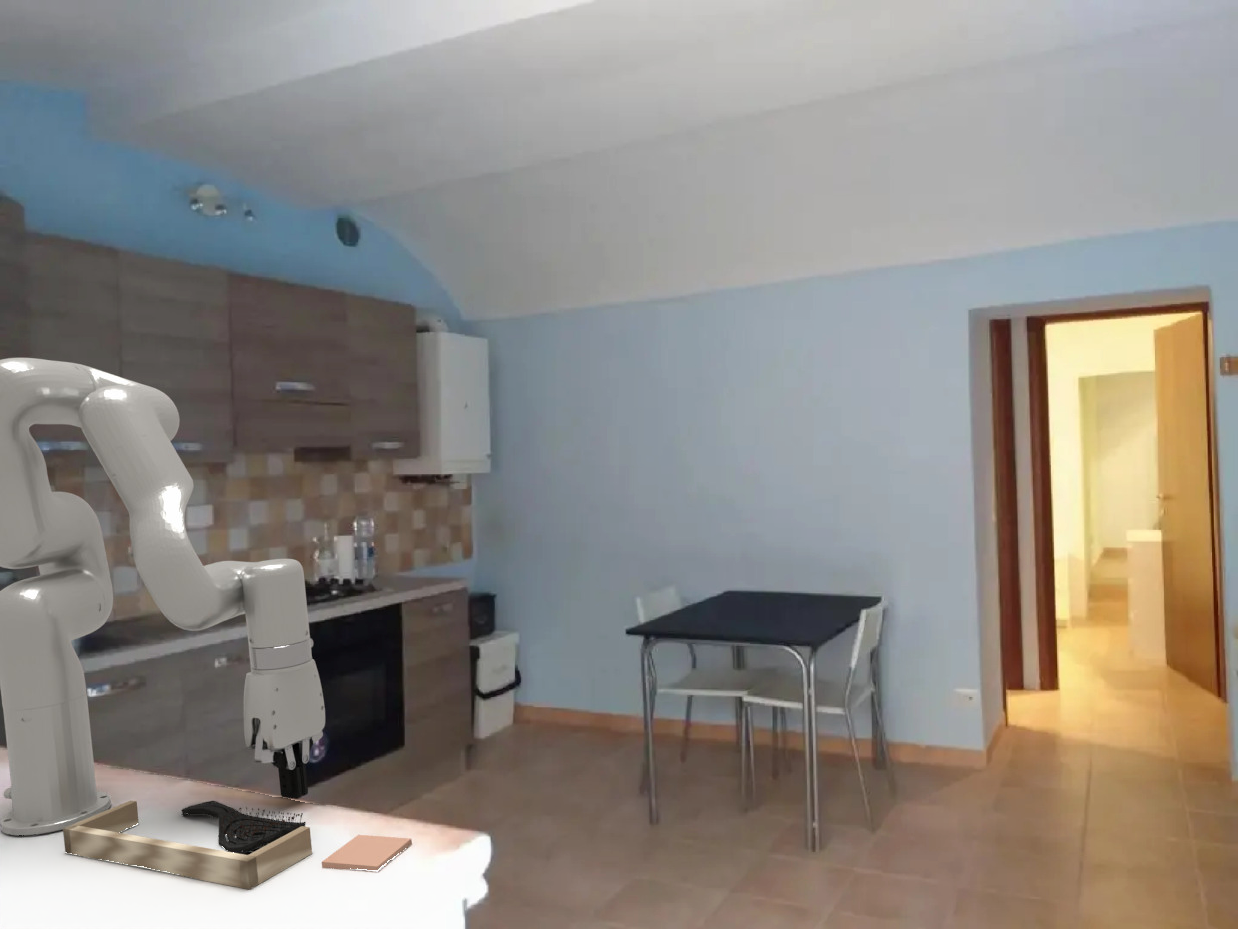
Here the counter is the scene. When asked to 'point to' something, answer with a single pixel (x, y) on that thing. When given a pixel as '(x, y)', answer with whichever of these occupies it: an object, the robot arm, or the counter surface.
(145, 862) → the u-shaped wooden frame
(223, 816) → the hairbrush
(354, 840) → the terracotta tile
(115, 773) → the counter surface
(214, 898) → the counter surface
